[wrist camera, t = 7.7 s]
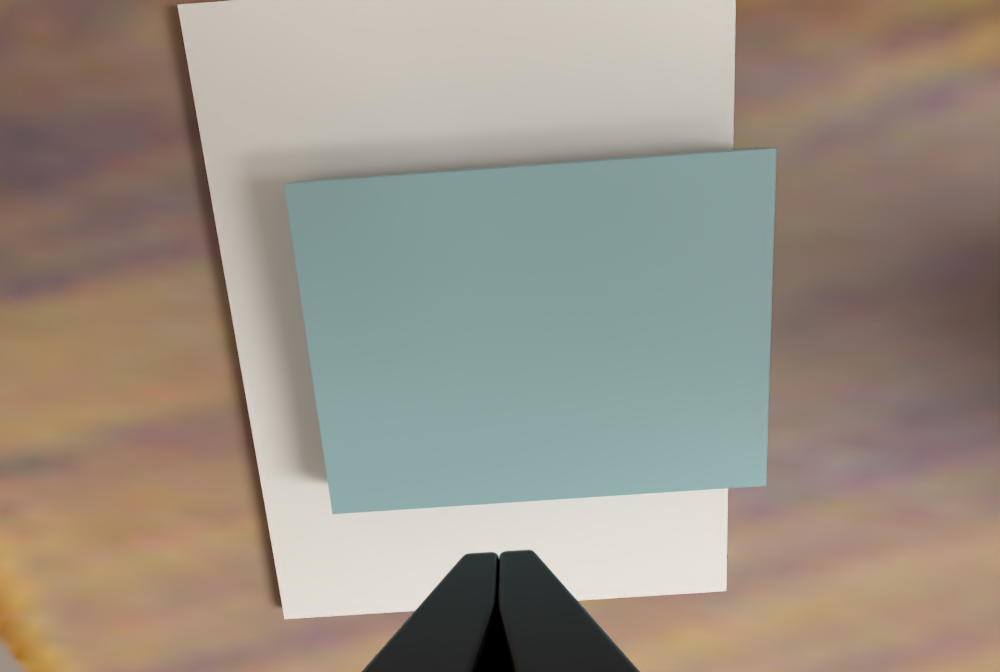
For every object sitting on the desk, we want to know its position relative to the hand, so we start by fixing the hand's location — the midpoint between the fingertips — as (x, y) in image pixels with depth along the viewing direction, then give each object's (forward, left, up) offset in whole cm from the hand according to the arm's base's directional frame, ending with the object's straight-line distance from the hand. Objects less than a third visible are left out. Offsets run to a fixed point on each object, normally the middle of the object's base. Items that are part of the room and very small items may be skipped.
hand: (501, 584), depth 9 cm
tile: (-7, 0, -11) cm, 13 cm away
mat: (0, 0, -12) cm, 12 cm away
